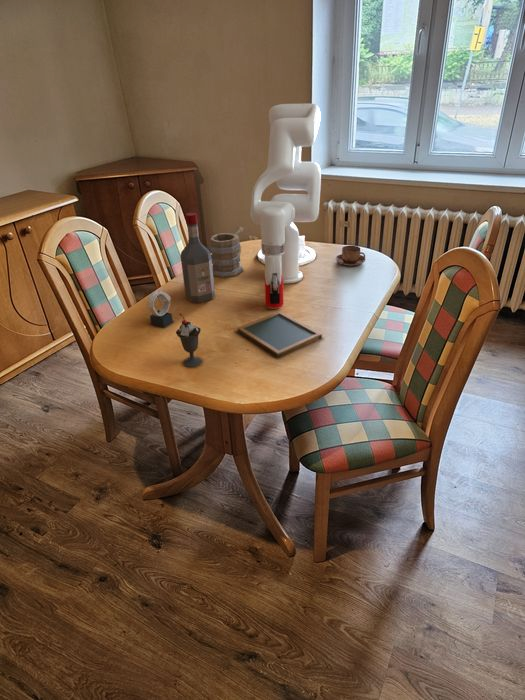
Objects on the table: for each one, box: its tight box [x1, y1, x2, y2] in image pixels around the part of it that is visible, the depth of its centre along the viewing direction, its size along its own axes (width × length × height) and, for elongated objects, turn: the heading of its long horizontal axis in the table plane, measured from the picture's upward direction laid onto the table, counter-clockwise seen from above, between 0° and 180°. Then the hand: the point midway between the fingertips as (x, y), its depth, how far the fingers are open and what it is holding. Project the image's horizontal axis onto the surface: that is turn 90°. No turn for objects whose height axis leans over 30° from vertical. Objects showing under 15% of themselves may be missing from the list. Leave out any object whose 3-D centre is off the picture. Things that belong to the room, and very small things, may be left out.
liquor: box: [180, 212, 216, 304], centre depth 158 cm, size 9×9×30 cm
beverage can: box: [264, 274, 285, 310], centre depth 154 cm, size 6×6×12 cm
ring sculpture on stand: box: [147, 290, 174, 328], centre depth 147 cm, size 6×8×11 cm
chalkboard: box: [237, 310, 323, 359], centre depth 140 cm, size 20×17×2 cm
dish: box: [257, 235, 317, 267], centre depth 196 cm, size 25×25×11 cm
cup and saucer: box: [335, 245, 366, 267], centre depth 188 cm, size 12×12×6 cm
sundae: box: [175, 313, 202, 368], centre depth 125 cm, size 7×7×15 cm
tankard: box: [208, 226, 244, 278], centre depth 185 cm, size 20×13×15 cm, turn 148°
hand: (274, 298), depth 156 cm, fingers closed on beverage can, 5 cm apart
